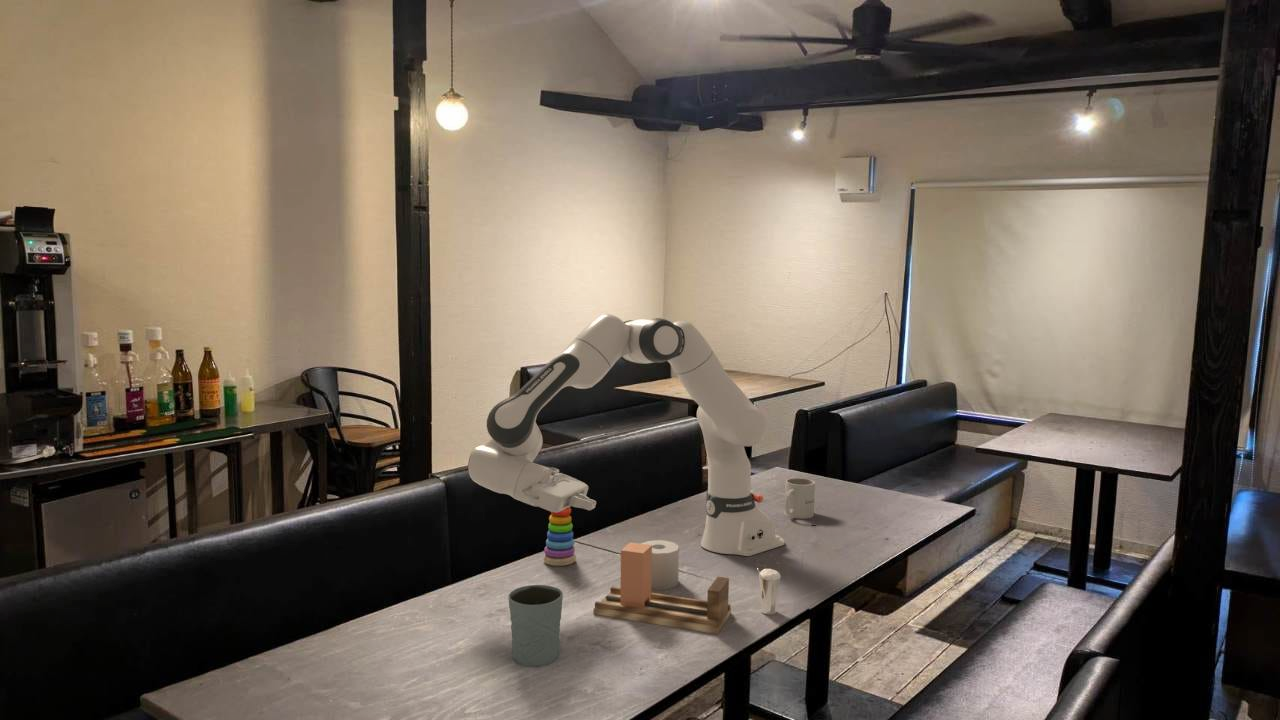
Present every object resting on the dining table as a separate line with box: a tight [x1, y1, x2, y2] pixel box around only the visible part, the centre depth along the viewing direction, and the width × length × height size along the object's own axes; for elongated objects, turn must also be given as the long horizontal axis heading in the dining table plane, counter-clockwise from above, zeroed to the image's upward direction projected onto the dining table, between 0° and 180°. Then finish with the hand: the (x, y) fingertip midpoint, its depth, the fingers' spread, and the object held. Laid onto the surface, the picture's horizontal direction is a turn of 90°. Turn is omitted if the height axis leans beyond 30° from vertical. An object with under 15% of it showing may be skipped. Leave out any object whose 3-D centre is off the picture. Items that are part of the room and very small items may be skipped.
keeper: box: [620, 541, 652, 609], centre depth 178 cm, size 5×6×12 cm
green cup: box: [508, 584, 564, 668], centre depth 157 cm, size 10×10×12 cm
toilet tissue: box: [640, 539, 680, 591], centre depth 194 cm, size 9×13×9 cm
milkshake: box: [757, 567, 782, 616], centre depth 178 cm, size 4×5×10 cm
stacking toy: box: [543, 506, 577, 567], centre depth 207 cm, size 8×8×19 cm
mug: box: [784, 477, 816, 520], centre depth 249 cm, size 12×9×10 cm
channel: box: [593, 576, 732, 635], centre depth 177 cm, size 27×11×8 cm, turn 70°
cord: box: [605, 594, 707, 615], centre depth 177 cm, size 24×1×1 cm, turn 70°
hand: (593, 506), depth 181 cm, fingers closed
